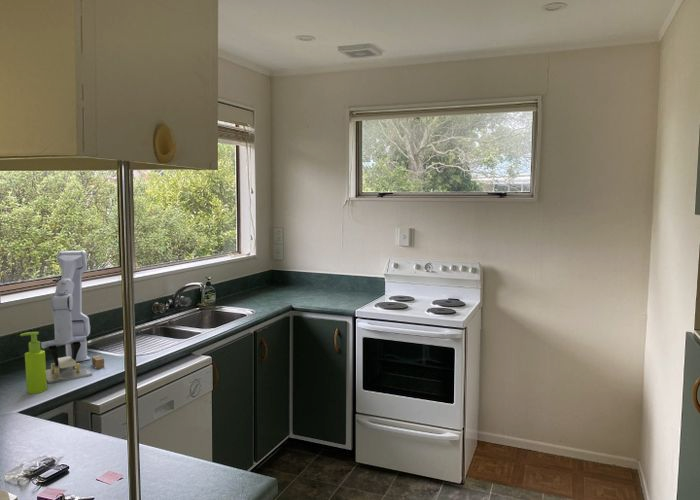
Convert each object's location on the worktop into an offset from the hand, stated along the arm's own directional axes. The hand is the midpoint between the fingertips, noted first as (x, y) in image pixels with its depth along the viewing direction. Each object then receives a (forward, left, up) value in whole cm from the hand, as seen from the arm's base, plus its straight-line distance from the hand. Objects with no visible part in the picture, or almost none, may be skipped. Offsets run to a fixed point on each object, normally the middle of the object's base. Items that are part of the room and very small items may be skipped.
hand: (65, 364), depth 200 cm
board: (0, 0, 0) cm, 0 cm away
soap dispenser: (+13, -12, -4) cm, 18 cm away
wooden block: (-3, +12, -4) cm, 13 cm away
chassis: (0, 0, -4) cm, 4 cm away
